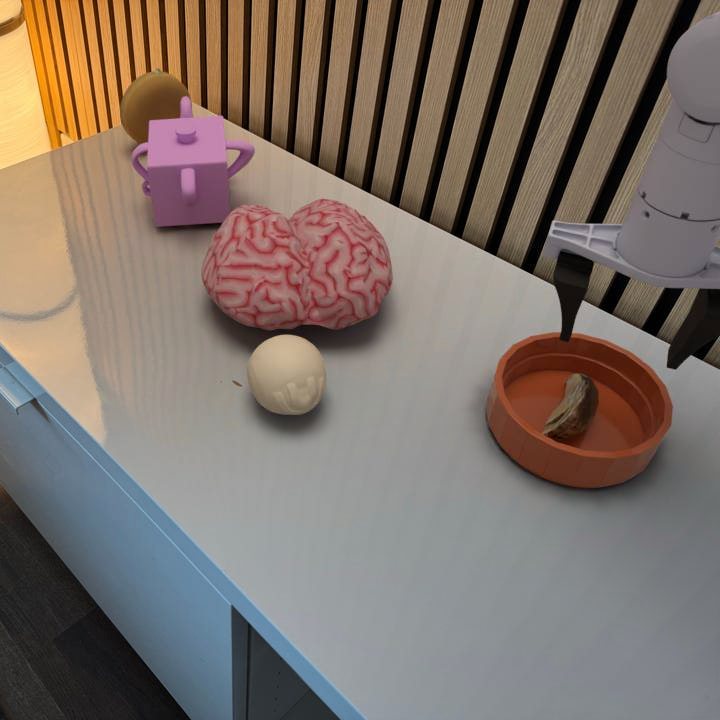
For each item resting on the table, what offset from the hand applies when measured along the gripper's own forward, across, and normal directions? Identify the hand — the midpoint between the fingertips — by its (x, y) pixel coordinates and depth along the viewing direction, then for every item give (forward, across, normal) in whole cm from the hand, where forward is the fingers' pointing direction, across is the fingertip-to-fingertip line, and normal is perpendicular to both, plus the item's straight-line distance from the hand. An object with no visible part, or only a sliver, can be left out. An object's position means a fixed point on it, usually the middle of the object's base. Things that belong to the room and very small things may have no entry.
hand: (617, 346), depth 58 cm
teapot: (+9, +46, -18) cm, 50 cm away
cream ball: (+10, +24, +8) cm, 27 cm away
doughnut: (+9, +57, -28) cm, 64 cm away
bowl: (+9, +1, +1) cm, 9 cm away
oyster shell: (+9, +2, +1) cm, 9 cm away
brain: (+10, +29, -6) cm, 31 cm away
